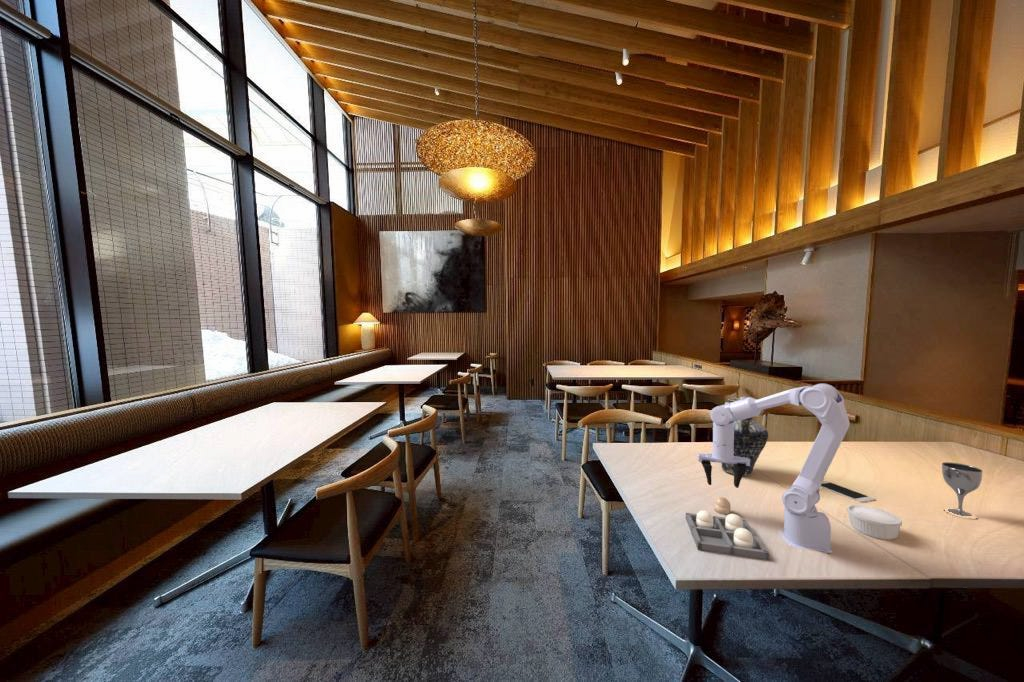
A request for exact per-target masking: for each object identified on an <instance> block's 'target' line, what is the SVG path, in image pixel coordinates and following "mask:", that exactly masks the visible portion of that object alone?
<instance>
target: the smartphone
mask: <svg viewBox="0 0 1024 682" xmlns="http://www.w3.org/2000/svg"><path fill="white" fill-rule="evenodd" d="M821 487H822V489H825V490H827V491H830V492H832V493H835V494H837V495H840V496H843V497H844V498H847V499H850V500H853V501H855V502H857V501H858V503H860V504H863V503H868V501H870V502H874V501H877V499H876V498H875V497H871V496H869V495H866V494H864V493H861V492H858V491H856V490H852V489H850V488H847V487H844V486H842V485H839V484H836V483H834V482H831V481H828V480H822V482H821ZM821 487H820V488H821Z"/></svg>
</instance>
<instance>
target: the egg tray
mask: <svg viewBox="0 0 1024 682" xmlns="http://www.w3.org/2000/svg"><path fill="white" fill-rule="evenodd" d="M696 516H697V513H690V512H686V513H685V520H686V523H687V525H688V528H689V530H690V533H691V536H692V538H693V539H692V540H693V541H694V544H695V547H696V549H697V550H698V551H703V552H709V553H717V554H722V555H723V554H724V555H731V556H737V557H744V558H749V559H751V558H752V559H756V560H765V561H769V556H770V554H769V551H768V550H767V549H766V547H765V546H764V545H763V542H762V541H761V540H760V538H759V537H758V535H757V534H756V533H755V531H754V530H753V528H752V527H751V525H750V524H749V523H748V521H747V519H742V521H743V528H745V529H747V530H748V531H750V533H751V534H752V536H753V549H752V548H744V547H737V546H734V531H727V530H725V519H726V516H725V517H724V516H715V515H712V517H713V529H712V528H704V527H697V526H696Z"/></svg>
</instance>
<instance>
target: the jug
mask: <svg viewBox="0 0 1024 682" xmlns="http://www.w3.org/2000/svg"><path fill="white" fill-rule="evenodd" d="M740 398H741V397H739V398H737V397H733V398H732V397H731V398H727V402H730V403H731V402H735V401H738V400H740ZM711 431H712V432H713V423H712V424H711ZM768 438H769V431H768V429H767V428H766V427H765V426H764V425H763V424H761V423H759V422H758V421H756V420H755V419H754V417H751V418H747V419H743V420H739V421H734V456H738V457H745V458H748V459H750V466H746V467H747V471H746V472H745V474H744V475H743V477H745V476H746V477H747V476H750V475H752V474H753V470H754V466H755V465H756V463H757V461H758V459H759V457H760V455H761V453H762V451H763V450H764V448H765V446H766V444H767V442H768V440H769V439H768ZM721 469H722V470H723V471H725V472H726V473H729V474H732V475H734V465H733V464H730V463H721Z"/></svg>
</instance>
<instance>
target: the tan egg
mask: <svg viewBox="0 0 1024 682" xmlns="http://www.w3.org/2000/svg"><path fill="white" fill-rule="evenodd" d="M714 512H716V513H718V514H720V515H724V516H727V515H729V514H731V503H730V501H729V500H728V499H727V498H725V497H722V496H719V497H717V498H716V499H715V500H714Z"/></svg>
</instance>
